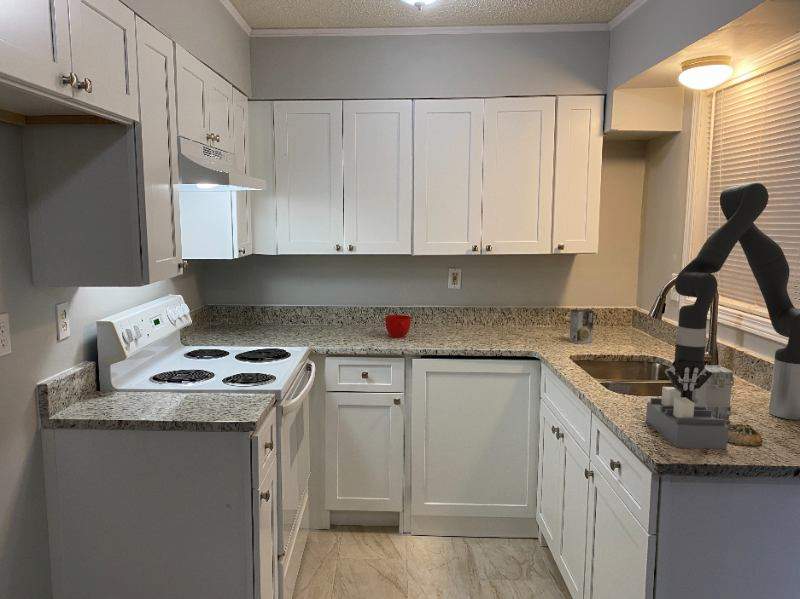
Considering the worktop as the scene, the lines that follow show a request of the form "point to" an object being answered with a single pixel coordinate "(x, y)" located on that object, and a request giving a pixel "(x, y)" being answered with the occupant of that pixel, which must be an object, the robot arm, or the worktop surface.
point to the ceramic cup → (397, 325)
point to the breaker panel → (687, 426)
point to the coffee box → (581, 326)
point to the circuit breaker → (716, 392)
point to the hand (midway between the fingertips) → (685, 402)
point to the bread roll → (743, 435)
